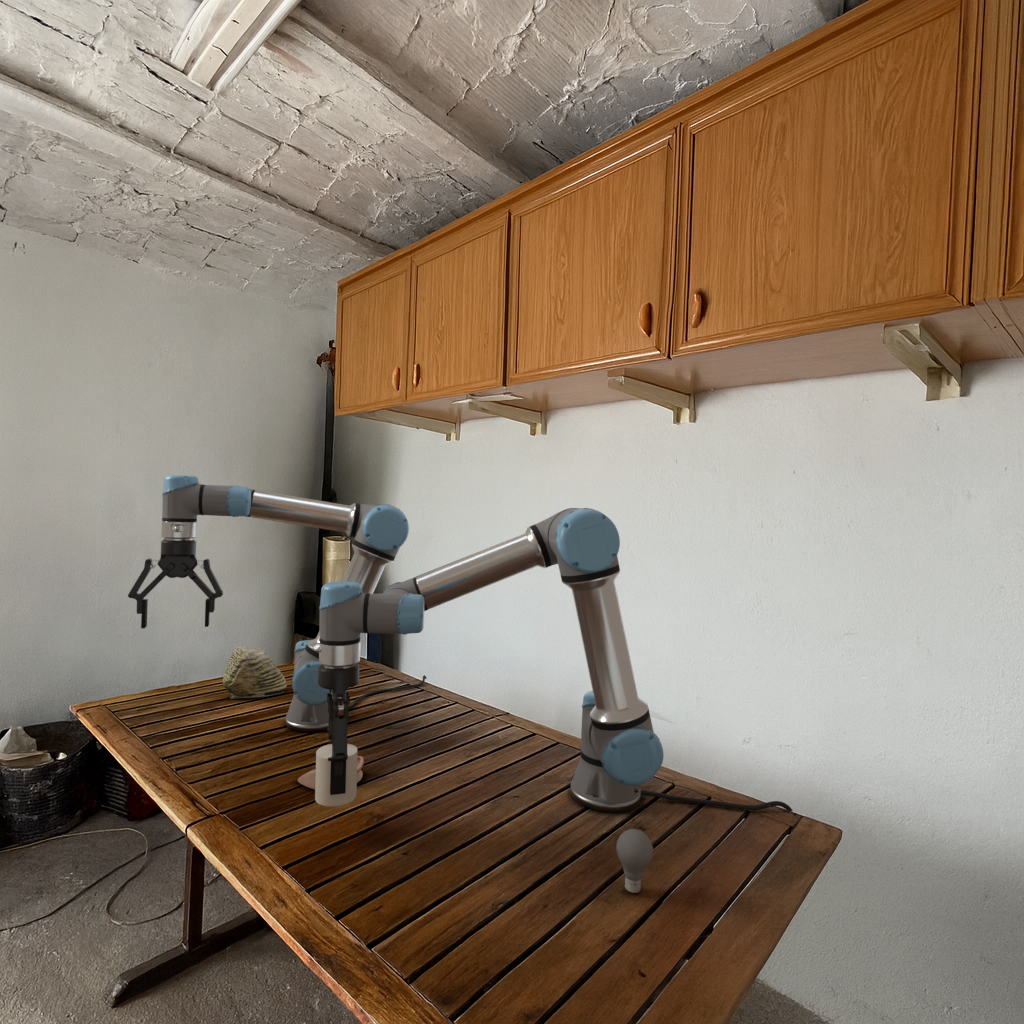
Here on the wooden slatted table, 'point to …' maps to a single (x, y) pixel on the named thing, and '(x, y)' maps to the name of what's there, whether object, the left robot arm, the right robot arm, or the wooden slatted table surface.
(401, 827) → the wooden slatted table surface
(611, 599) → the right robot arm
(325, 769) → the can
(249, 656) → the fossil
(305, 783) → the anatomical model
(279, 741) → the wooden slatted table surface
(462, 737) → the wooden slatted table surface
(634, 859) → the light bulb
